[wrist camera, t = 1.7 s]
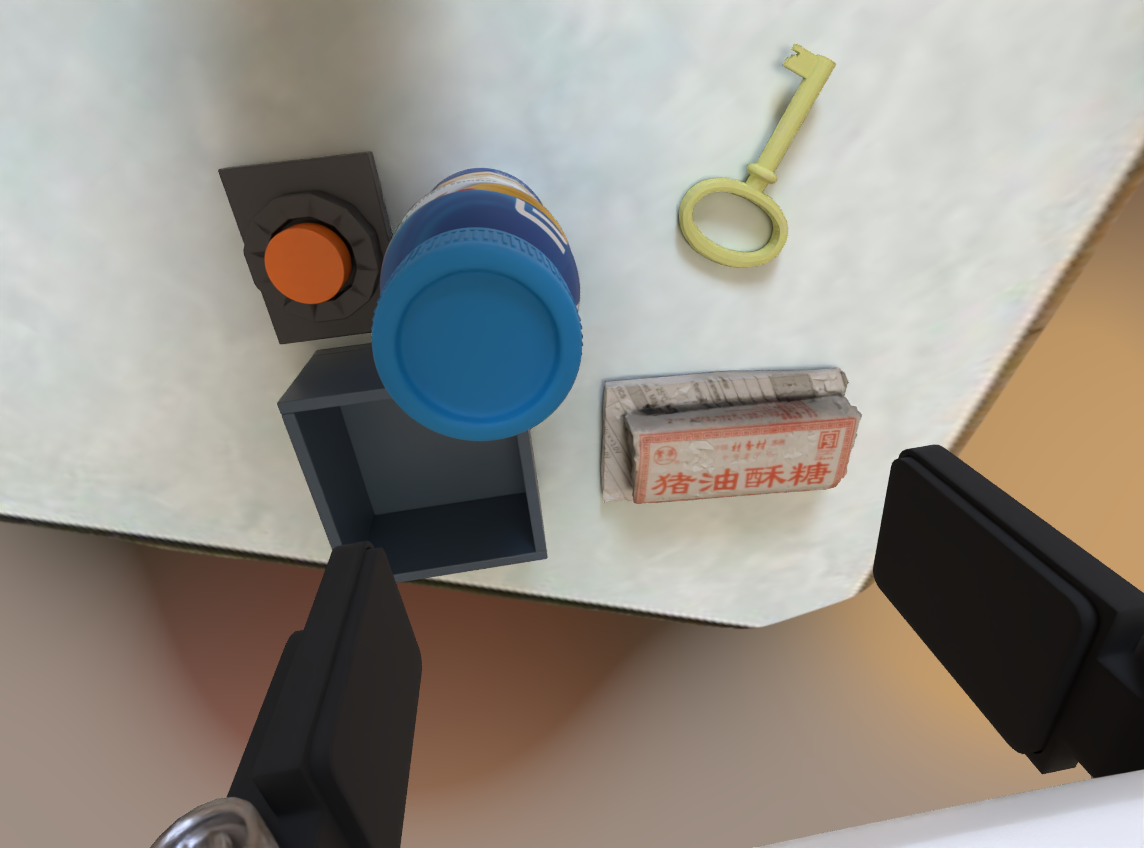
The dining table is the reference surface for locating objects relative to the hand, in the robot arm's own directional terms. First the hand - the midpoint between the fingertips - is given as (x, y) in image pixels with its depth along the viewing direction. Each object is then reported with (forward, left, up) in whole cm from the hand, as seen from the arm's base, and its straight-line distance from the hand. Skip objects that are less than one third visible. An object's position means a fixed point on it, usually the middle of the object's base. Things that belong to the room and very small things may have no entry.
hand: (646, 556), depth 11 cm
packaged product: (+15, +12, -29) cm, 35 cm away
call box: (-1, -13, -29) cm, 32 cm away
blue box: (+11, -9, -29) cm, 33 cm away
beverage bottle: (-1, -3, -29) cm, 30 cm away
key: (-3, +14, -30) cm, 33 cm away
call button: (-1, -13, -27) cm, 29 cm away
